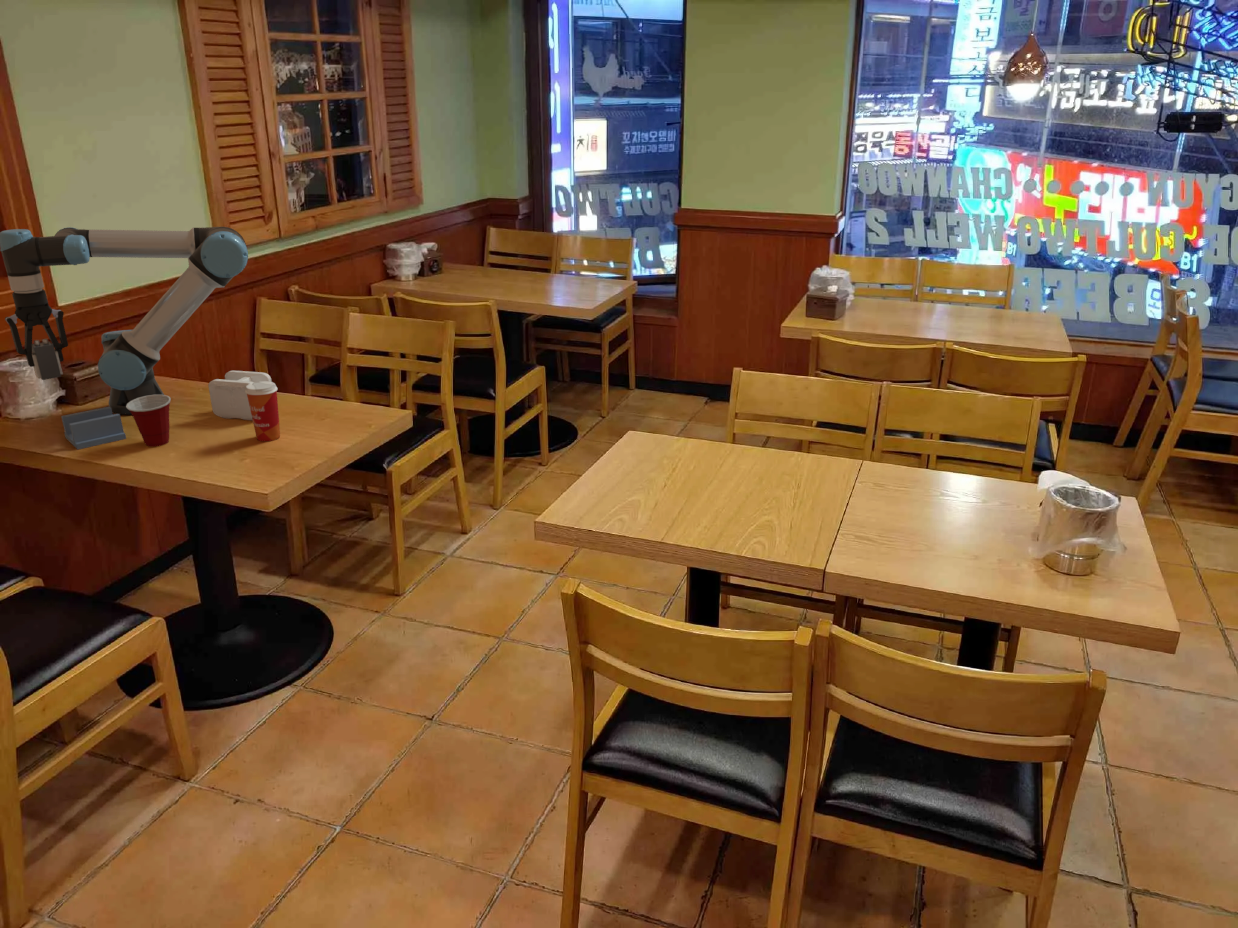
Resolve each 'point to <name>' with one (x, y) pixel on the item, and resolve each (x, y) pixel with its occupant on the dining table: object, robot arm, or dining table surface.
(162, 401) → the plastic cup
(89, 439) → the holder
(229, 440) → the dining table surface
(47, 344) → the plug
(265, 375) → the cable organizer
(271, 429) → the coffee cup
